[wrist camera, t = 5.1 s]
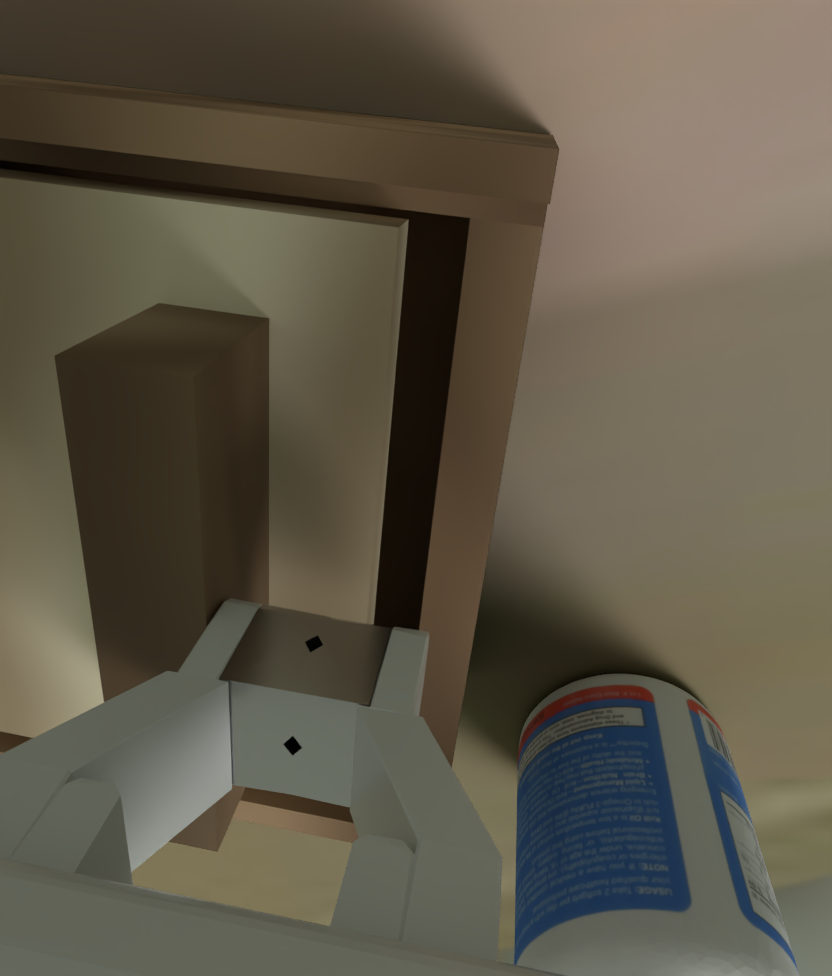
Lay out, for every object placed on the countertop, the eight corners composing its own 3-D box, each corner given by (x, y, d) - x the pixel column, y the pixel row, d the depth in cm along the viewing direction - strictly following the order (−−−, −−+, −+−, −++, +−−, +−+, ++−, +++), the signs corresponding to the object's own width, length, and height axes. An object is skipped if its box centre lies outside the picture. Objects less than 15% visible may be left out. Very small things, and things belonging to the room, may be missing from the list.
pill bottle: (492, 777, 21) (459, 1234, 13) (559, 640, 18) (575, 1097, 10) (673, 835, 21) (763, 1333, 12) (766, 706, 18) (959, 1222, 10)
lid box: (552, 135, 13) (558, 149, 8) (462, 673, 19) (436, 859, 15) (-103, 61, 14) (-425, 37, 10) (7, 592, 21) (-156, 739, 16)
